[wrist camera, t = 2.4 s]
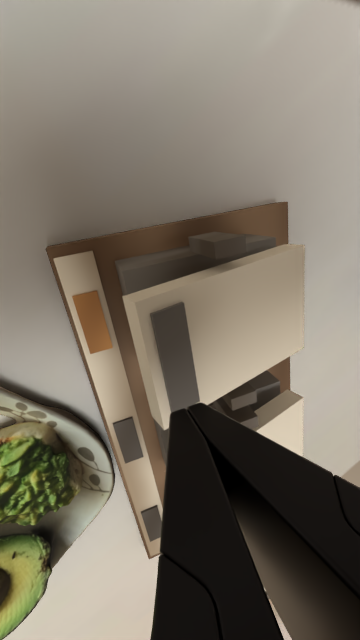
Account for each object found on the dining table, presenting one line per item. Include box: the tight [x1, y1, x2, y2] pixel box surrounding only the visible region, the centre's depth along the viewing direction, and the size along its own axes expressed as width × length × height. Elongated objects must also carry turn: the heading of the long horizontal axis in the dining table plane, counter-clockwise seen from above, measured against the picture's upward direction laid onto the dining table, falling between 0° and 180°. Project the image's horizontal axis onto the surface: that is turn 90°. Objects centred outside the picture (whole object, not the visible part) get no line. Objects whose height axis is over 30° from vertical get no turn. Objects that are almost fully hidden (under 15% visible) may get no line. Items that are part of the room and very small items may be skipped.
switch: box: [122, 244, 305, 430], centre depth 12 cm, size 8×5×1 cm, turn 99°
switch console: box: [46, 202, 290, 599], centre depth 17 cm, size 13×24×7 cm, turn 9°
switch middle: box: [252, 389, 303, 457], centre depth 15 cm, size 8×5×1 cm, turn 99°
